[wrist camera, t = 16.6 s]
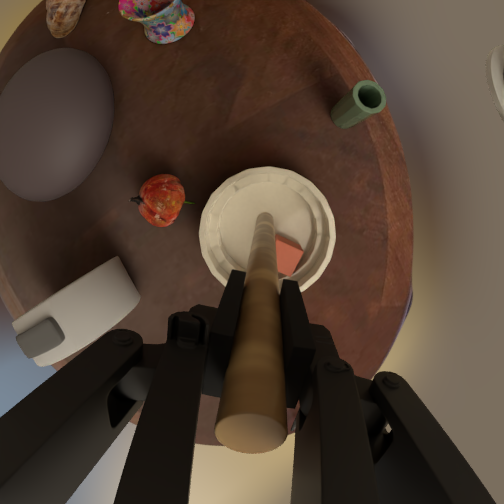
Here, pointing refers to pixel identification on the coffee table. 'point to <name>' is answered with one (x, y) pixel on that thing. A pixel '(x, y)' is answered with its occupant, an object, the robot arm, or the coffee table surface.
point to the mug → (159, 18)
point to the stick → (256, 356)
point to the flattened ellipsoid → (54, 123)
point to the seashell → (63, 16)
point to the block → (287, 255)
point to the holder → (358, 104)
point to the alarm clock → (77, 314)
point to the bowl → (284, 215)
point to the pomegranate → (161, 199)
